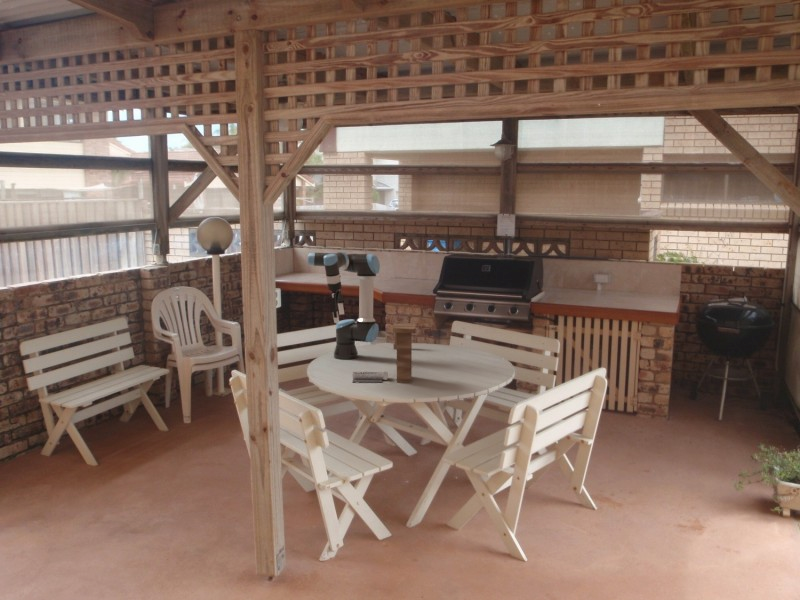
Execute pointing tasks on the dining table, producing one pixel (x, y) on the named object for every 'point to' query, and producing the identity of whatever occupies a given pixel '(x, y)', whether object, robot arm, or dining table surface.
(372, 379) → the rubber mat
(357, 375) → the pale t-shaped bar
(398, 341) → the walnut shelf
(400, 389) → the dining table surface
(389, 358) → the dining table surface
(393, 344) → the wooden block
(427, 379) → the dining table surface
